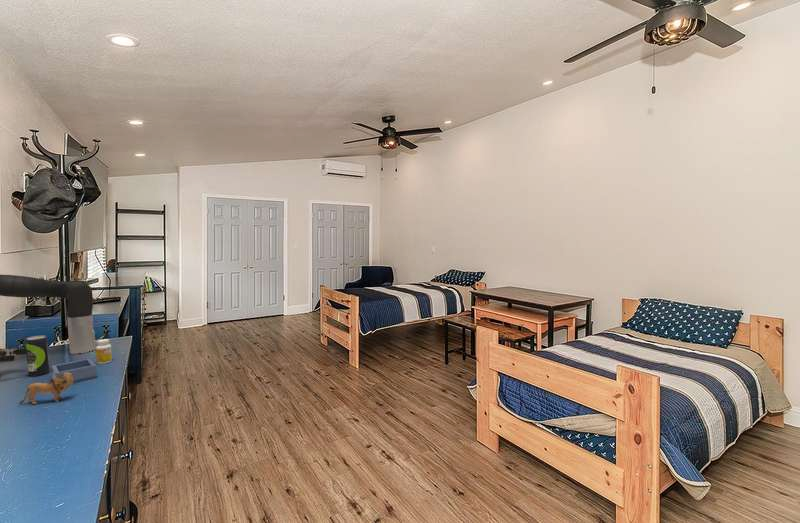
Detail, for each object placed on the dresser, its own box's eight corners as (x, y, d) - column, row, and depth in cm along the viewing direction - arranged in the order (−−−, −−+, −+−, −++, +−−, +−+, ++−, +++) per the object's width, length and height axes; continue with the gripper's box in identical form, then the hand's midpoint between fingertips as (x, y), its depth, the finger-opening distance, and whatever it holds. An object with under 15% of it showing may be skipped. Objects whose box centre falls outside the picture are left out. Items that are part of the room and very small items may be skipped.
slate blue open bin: (90, 370, 161) (90, 358, 161) (96, 377, 153) (95, 365, 153) (52, 378, 152) (51, 365, 152) (56, 386, 144) (55, 373, 144)
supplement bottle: (93, 363, 169) (92, 341, 169) (107, 359, 174) (105, 338, 174) (101, 364, 167) (100, 342, 167) (115, 360, 172) (113, 339, 172)
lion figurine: (76, 394, 138) (75, 369, 137) (72, 400, 133) (70, 374, 133) (21, 402, 131) (19, 376, 131) (15, 409, 127) (12, 382, 126)
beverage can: (50, 373, 157) (47, 337, 156) (29, 378, 153) (26, 340, 151) (48, 369, 161) (45, 334, 160) (27, 373, 157) (24, 337, 156)
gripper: (-47, 354, 143) (8, 350, 148) (-19, 343, 157) (31, 340, 161) (-45, 374, 144) (10, 369, 148) (-17, 361, 157) (32, 357, 162)
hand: (21, 354), depth 155 cm, fingers open, 8 cm apart
